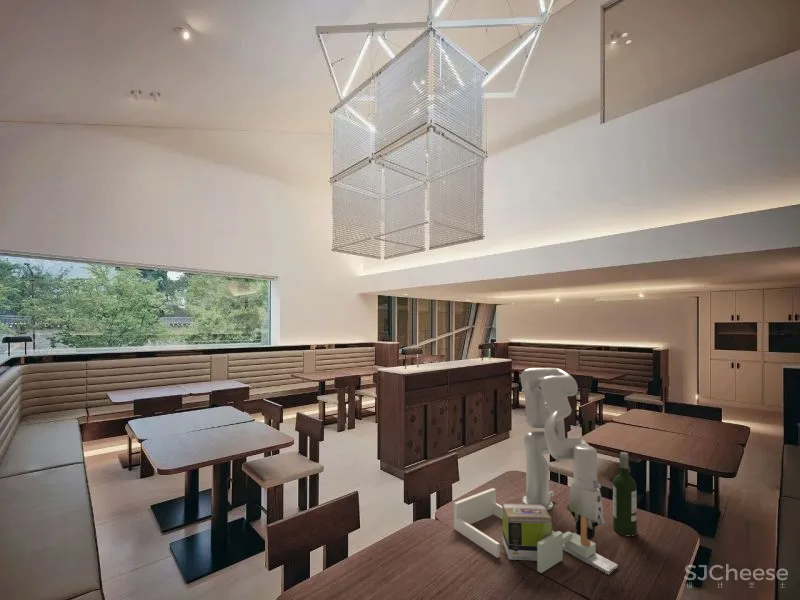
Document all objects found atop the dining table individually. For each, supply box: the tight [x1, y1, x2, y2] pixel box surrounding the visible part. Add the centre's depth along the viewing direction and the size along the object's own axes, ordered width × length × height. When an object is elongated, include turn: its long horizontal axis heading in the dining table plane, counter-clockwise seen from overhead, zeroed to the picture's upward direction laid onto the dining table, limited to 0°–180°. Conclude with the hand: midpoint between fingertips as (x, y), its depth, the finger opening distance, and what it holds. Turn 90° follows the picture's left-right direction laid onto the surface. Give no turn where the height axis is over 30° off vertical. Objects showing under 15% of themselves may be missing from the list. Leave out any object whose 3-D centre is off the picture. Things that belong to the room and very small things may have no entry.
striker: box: [536, 516, 597, 574], centre depth 129 cm, size 24×8×14 cm, turn 125°
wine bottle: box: [612, 451, 638, 536], centre depth 149 cm, size 8×8×30 cm
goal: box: [453, 487, 503, 559], centre depth 146 cm, size 22×22×10 cm
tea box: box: [501, 503, 553, 562], centre depth 135 cm, size 15×10×15 cm
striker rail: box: [552, 529, 619, 576], centre depth 141 cm, size 6×40×1 cm, turn 35°
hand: (585, 535), depth 133 cm, fingers closed on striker, 3 cm apart
